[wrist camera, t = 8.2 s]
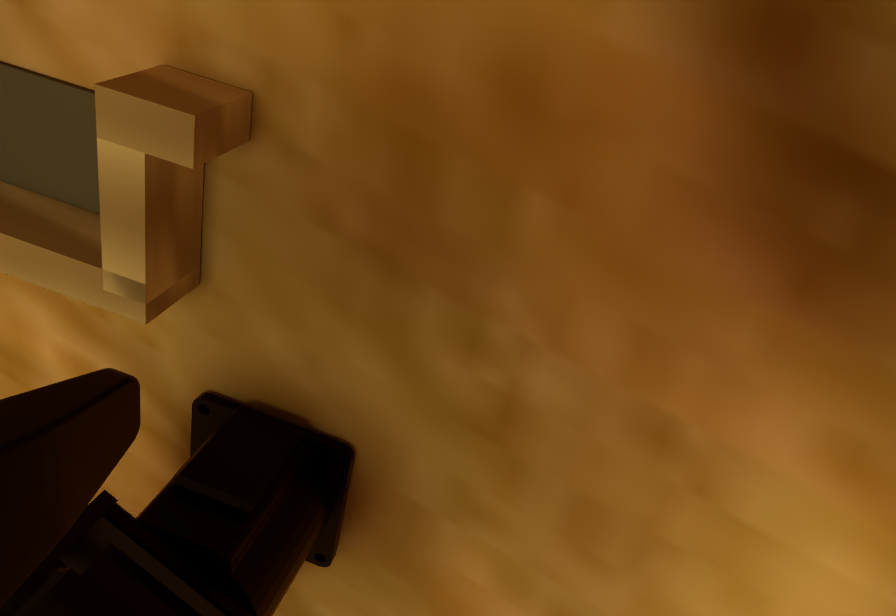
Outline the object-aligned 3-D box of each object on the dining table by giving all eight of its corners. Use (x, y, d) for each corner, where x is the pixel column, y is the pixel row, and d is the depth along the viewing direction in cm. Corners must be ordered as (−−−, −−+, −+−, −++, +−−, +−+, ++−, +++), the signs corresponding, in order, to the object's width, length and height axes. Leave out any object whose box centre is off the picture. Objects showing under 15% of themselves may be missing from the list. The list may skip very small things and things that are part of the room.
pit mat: (161, 232, 25) (158, 234, 25) (-13, 172, 26) (-18, 173, 26) (162, 113, 23) (158, 114, 23) (-28, 52, 24) (-34, 53, 23)
